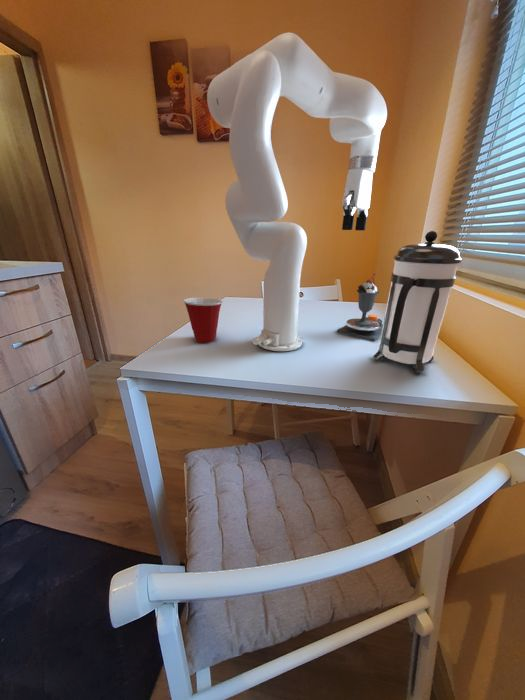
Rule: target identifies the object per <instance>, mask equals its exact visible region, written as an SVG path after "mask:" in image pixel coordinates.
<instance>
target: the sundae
mask: <svg viewBox="0 0 525 700" xmlns="http://www.w3.org/2000/svg"><path fill="white" fill-rule="evenodd" d="M375 276H376V273H373V274H372V278H373V280H372V279H371V278H369V279H367V280H366V281H365V282H363V283H362V284H360V285H358V286H357V289H356V292H357V294H358V302H357V303H358V309H359V310H360V312H361V313H362V315H361V317H360V318H359V319H360V320H357V321H355V323H356V324H359V325H371V323H370V322H368V321H367V320H366V317H367V314H368V313H369V312H371V310H373V308H374V305H375V301H376V298H377V296H378V294H379V293H381V292H380V291H379V290H378V287H377V286H376V282H375Z"/></svg>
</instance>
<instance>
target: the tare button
mask: <svg viewBox="0 0 525 700" xmlns="http://www.w3.org/2000/svg"><path fill="white" fill-rule="evenodd" d="M367 317H368V320H372V321H377V320H378V319H379V315H378V314H368V315H367Z"/></svg>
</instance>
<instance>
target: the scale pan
mask: <svg viewBox="0 0 525 700" xmlns="http://www.w3.org/2000/svg"><path fill="white" fill-rule="evenodd" d="M360 319H361V318H350V319H348V320H346V323H345V326H346V325H347V326H349V327H351V328H354V329H358V330H367V331H371V330H377V329H379V327H380V324H379V323H377V322H375V321H372V320H368V319H366V320H367V321H368V322H370V323H371V325H359V324H356V323H355V321H357V320H360Z"/></svg>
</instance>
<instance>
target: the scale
mask: <svg viewBox="0 0 525 700" xmlns="http://www.w3.org/2000/svg"><path fill="white" fill-rule="evenodd" d="M366 319H368V316H366ZM375 322H377V323H379V324H380V327H379V329H377V330H371V331H367V330H358V329H354V328H351V327H349V326H347V325H346V324H345V325H344V326H342V327H340V328H339V329H337V331H336V332H337V333H338V334H343V335H346V336H351V337H355V338H359V339H363V340H368V341H371V342H376V341H377V340H378V339H381V334H382V328H383V320H382V319H381V318H378V320H377V321H375Z"/></svg>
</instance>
